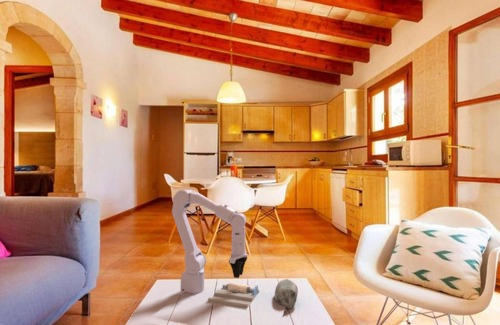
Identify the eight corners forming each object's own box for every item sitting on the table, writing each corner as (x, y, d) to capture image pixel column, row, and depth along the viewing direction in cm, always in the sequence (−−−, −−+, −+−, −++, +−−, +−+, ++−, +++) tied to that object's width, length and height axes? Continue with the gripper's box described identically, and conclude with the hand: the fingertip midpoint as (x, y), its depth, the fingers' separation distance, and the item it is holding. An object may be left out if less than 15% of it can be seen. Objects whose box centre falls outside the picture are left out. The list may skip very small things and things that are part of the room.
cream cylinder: (225, 292, 123) (225, 284, 123) (228, 289, 127) (228, 281, 127) (248, 296, 120) (248, 287, 120) (251, 293, 123) (251, 284, 124)
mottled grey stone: (302, 304, 110) (290, 277, 113) (278, 314, 110) (267, 287, 114) (304, 298, 122) (293, 274, 126) (283, 307, 123) (273, 283, 127)
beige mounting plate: (206, 307, 114) (206, 295, 114) (224, 289, 131) (224, 279, 131) (245, 313, 109) (246, 301, 109) (259, 294, 126) (260, 283, 126)
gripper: (241, 247, 116) (241, 283, 116) (252, 239, 130) (252, 271, 129) (224, 246, 118) (224, 281, 118) (237, 238, 132) (237, 269, 131)
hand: (238, 276), depth 124 cm, fingers open, 3 cm apart
